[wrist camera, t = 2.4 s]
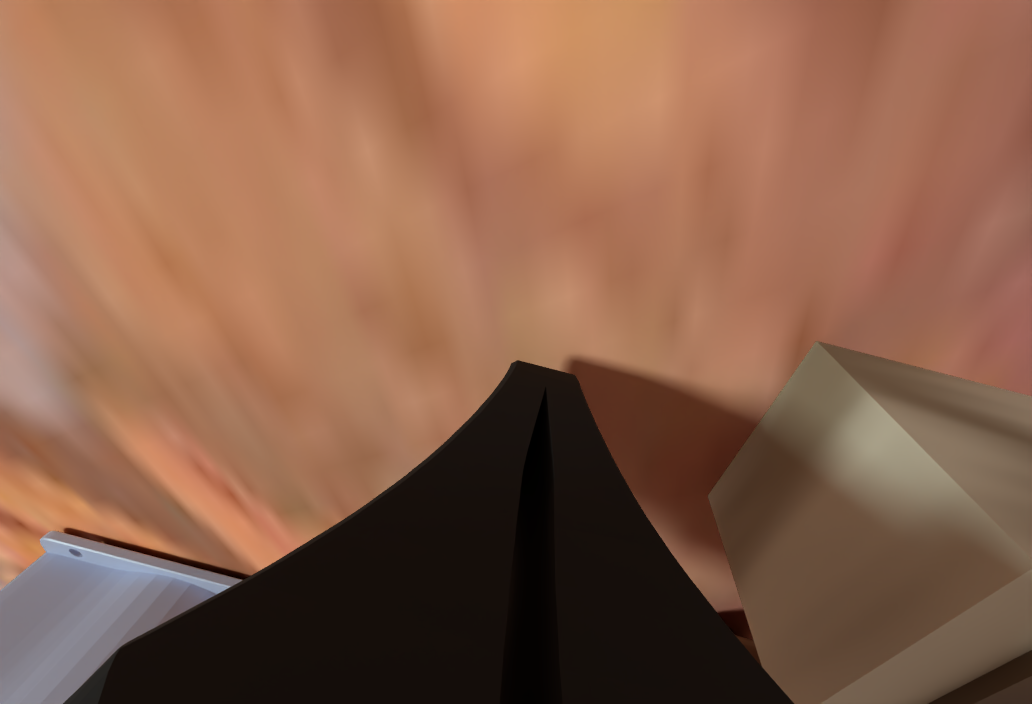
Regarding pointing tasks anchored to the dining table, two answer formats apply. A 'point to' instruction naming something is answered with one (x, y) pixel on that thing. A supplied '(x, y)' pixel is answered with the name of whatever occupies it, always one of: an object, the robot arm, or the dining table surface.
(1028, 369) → the dining table surface
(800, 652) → the letter cube
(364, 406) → the dining table surface
